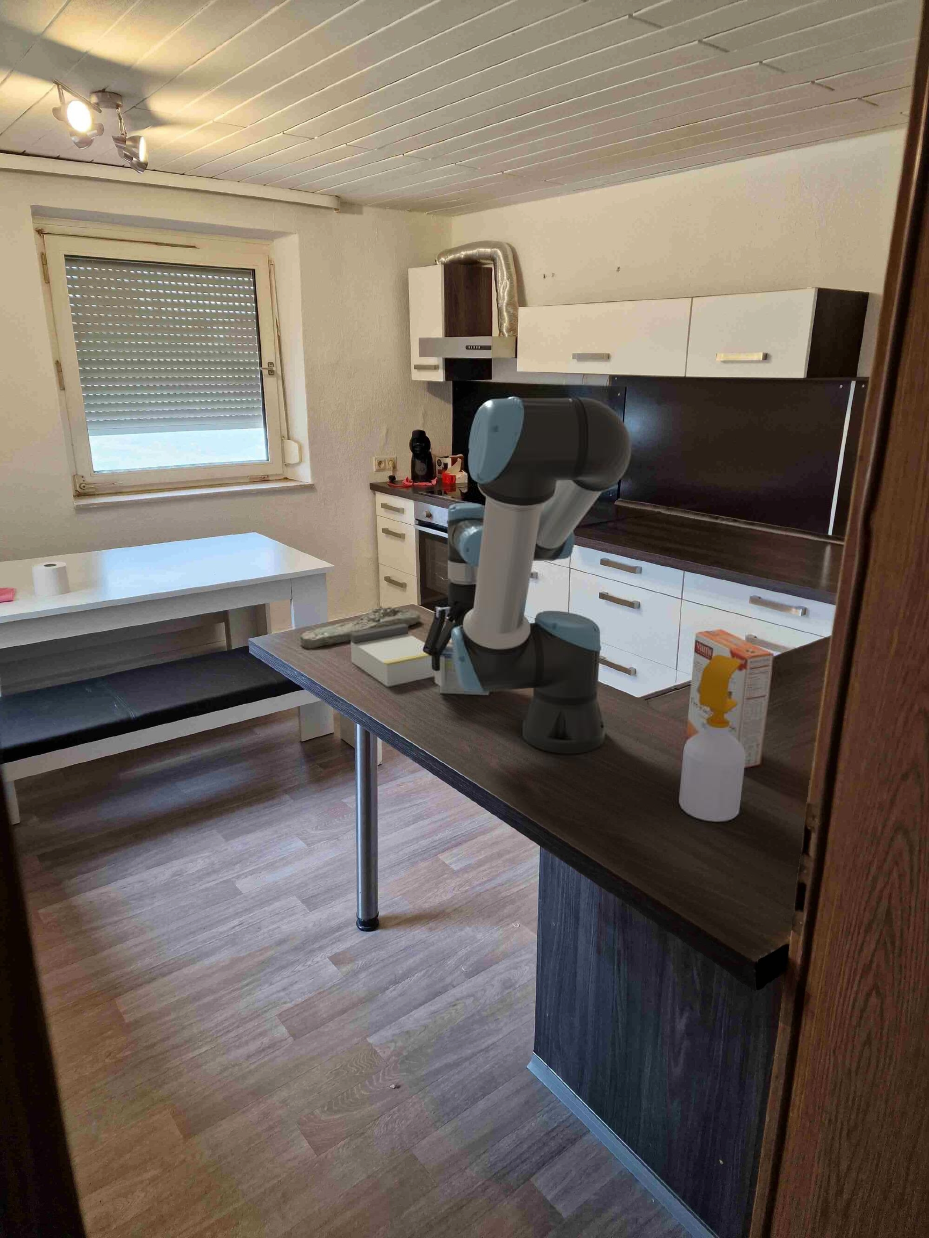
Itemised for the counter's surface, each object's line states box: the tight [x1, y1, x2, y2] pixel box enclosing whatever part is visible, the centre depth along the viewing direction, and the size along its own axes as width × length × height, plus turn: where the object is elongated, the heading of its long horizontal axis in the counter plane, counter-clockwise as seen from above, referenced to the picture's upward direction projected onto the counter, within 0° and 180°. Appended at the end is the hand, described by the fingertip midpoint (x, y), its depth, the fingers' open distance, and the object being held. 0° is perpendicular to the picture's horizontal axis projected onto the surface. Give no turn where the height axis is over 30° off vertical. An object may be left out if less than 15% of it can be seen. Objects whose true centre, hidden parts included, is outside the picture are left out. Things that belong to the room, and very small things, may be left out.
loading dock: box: [350, 624, 435, 688], centre depth 183 cm, size 18×14×7 cm
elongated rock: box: [299, 605, 421, 649], centre depth 207 cm, size 35×5×10 cm
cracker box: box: [686, 628, 775, 769], centre depth 141 cm, size 14×6×21 cm, turn 21°
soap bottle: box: [678, 655, 746, 823], centre depth 122 cm, size 9×9×25 cm
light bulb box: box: [438, 639, 490, 696], centre depth 170 cm, size 11×7×11 cm, turn 84°
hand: (465, 678), depth 171 cm, fingers closed on light bulb box, 12 cm apart
